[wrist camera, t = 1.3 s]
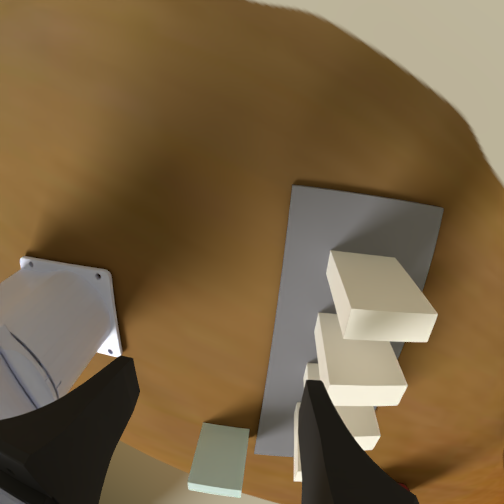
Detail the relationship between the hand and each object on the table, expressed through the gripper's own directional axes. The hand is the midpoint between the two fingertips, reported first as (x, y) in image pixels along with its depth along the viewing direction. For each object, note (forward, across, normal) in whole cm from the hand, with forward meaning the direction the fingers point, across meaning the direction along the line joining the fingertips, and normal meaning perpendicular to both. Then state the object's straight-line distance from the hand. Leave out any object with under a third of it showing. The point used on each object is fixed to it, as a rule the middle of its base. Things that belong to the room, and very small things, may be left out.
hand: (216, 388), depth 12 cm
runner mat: (+10, -7, +6) cm, 14 cm away
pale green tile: (+10, +1, +16) cm, 19 cm away
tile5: (+9, -8, -2) cm, 12 cm away
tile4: (+9, -7, +2) cm, 12 cm away
